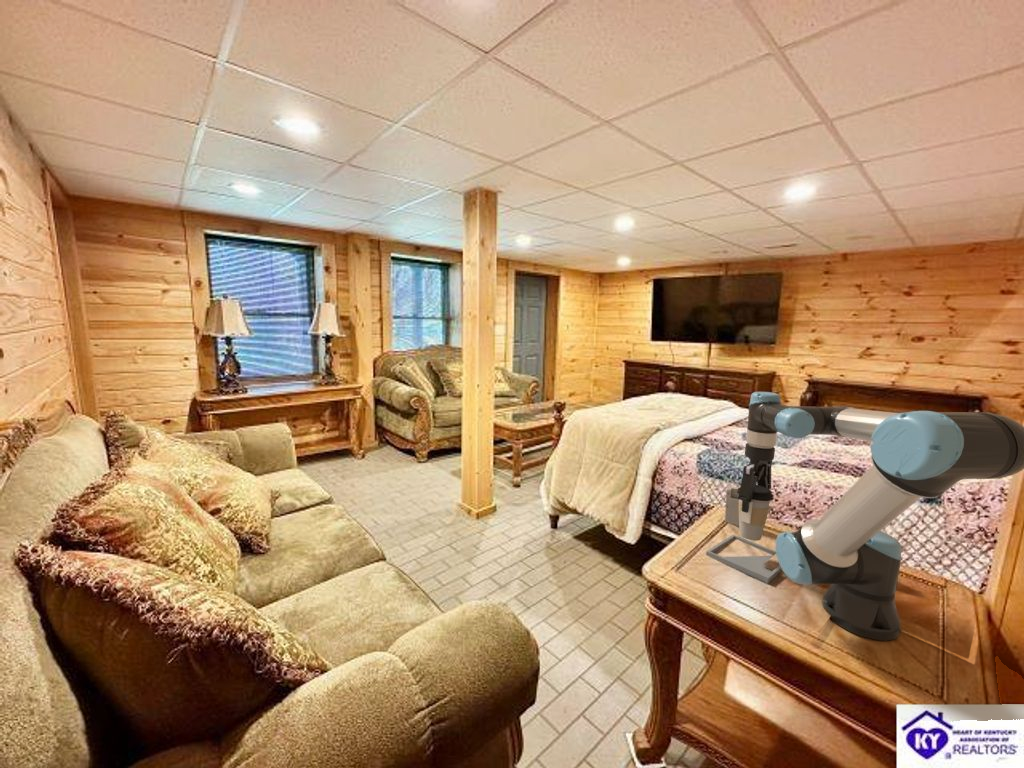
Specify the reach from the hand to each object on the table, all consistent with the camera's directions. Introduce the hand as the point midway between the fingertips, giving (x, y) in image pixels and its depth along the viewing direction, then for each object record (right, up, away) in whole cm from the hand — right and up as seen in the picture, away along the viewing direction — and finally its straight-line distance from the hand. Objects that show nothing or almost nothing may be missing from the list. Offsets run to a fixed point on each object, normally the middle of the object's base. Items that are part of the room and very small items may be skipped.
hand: (752, 517), depth 129 cm
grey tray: (0, -14, +2) cm, 14 cm away
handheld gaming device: (+7, -11, +21) cm, 25 cm away
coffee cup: (0, -6, +1) cm, 6 cm away
